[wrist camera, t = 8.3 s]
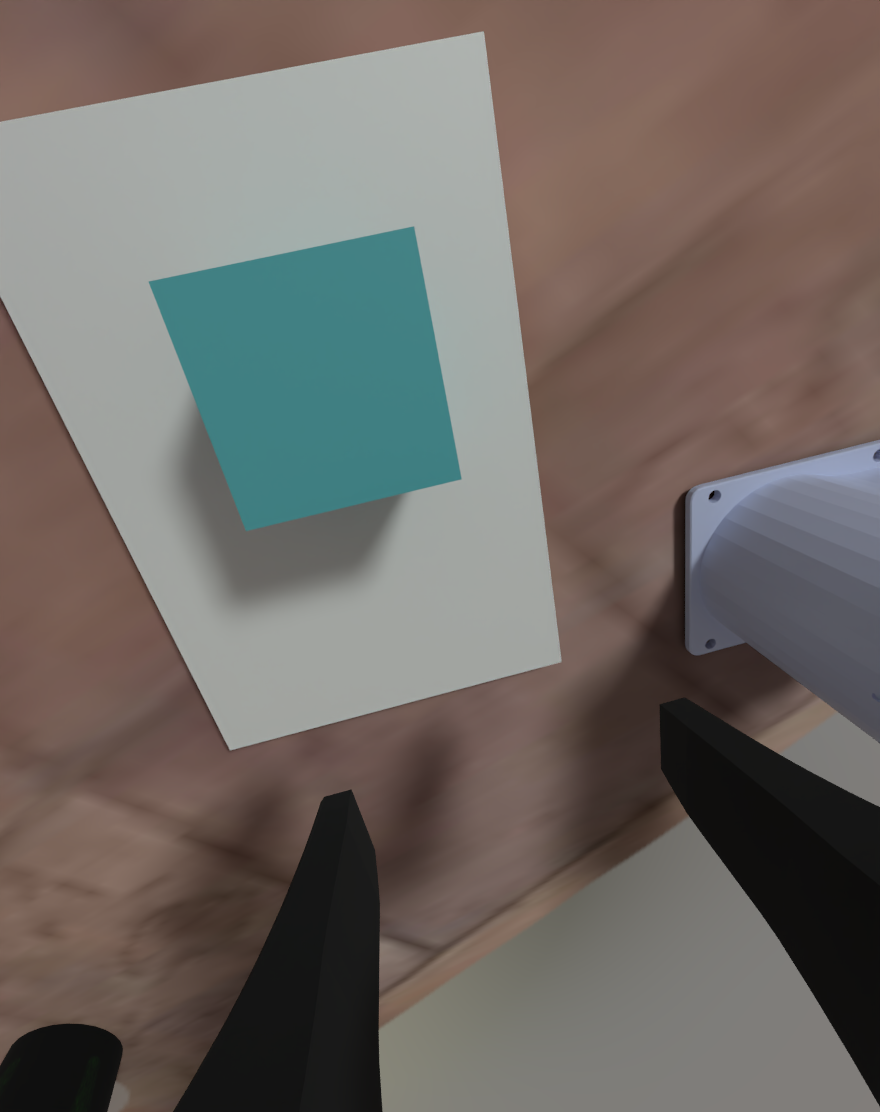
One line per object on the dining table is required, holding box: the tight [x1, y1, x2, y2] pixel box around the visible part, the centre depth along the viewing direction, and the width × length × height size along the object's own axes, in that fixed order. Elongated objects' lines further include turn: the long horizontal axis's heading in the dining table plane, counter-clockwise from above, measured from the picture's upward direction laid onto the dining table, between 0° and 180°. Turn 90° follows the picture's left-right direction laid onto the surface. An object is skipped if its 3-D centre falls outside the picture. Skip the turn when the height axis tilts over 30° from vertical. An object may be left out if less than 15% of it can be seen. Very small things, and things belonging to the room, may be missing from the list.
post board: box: [0, 31, 561, 750], centre depth 15 cm, size 14×20×5 cm
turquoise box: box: [149, 226, 462, 531], centre depth 13 cm, size 5×5×6 cm
